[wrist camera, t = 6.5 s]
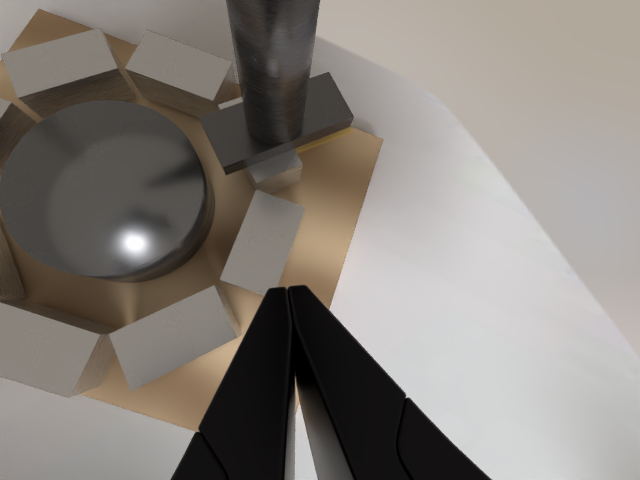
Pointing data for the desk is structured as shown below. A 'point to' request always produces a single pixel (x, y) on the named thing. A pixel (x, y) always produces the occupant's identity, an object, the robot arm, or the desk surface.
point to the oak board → (204, 247)
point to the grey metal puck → (107, 193)
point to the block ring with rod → (232, 152)
